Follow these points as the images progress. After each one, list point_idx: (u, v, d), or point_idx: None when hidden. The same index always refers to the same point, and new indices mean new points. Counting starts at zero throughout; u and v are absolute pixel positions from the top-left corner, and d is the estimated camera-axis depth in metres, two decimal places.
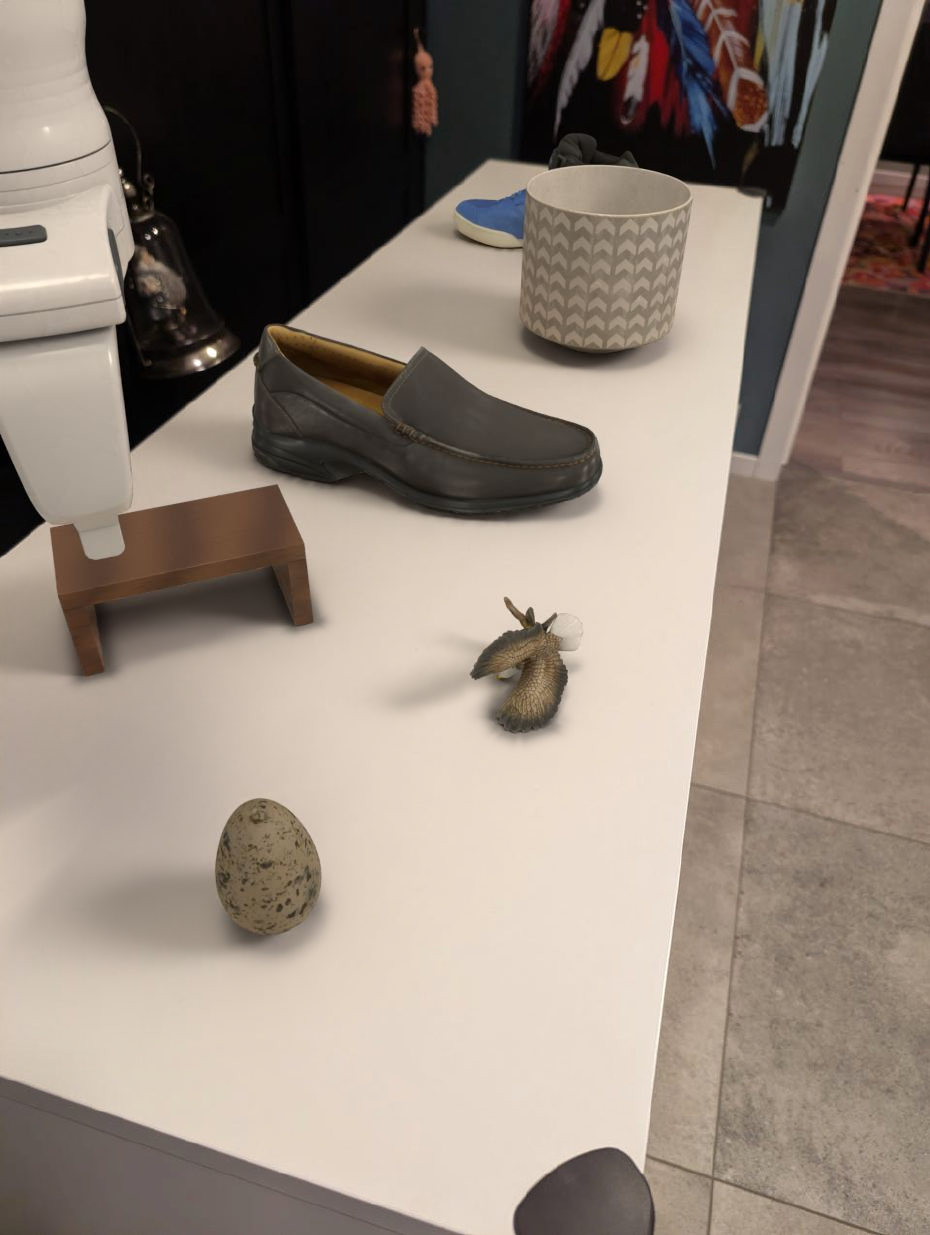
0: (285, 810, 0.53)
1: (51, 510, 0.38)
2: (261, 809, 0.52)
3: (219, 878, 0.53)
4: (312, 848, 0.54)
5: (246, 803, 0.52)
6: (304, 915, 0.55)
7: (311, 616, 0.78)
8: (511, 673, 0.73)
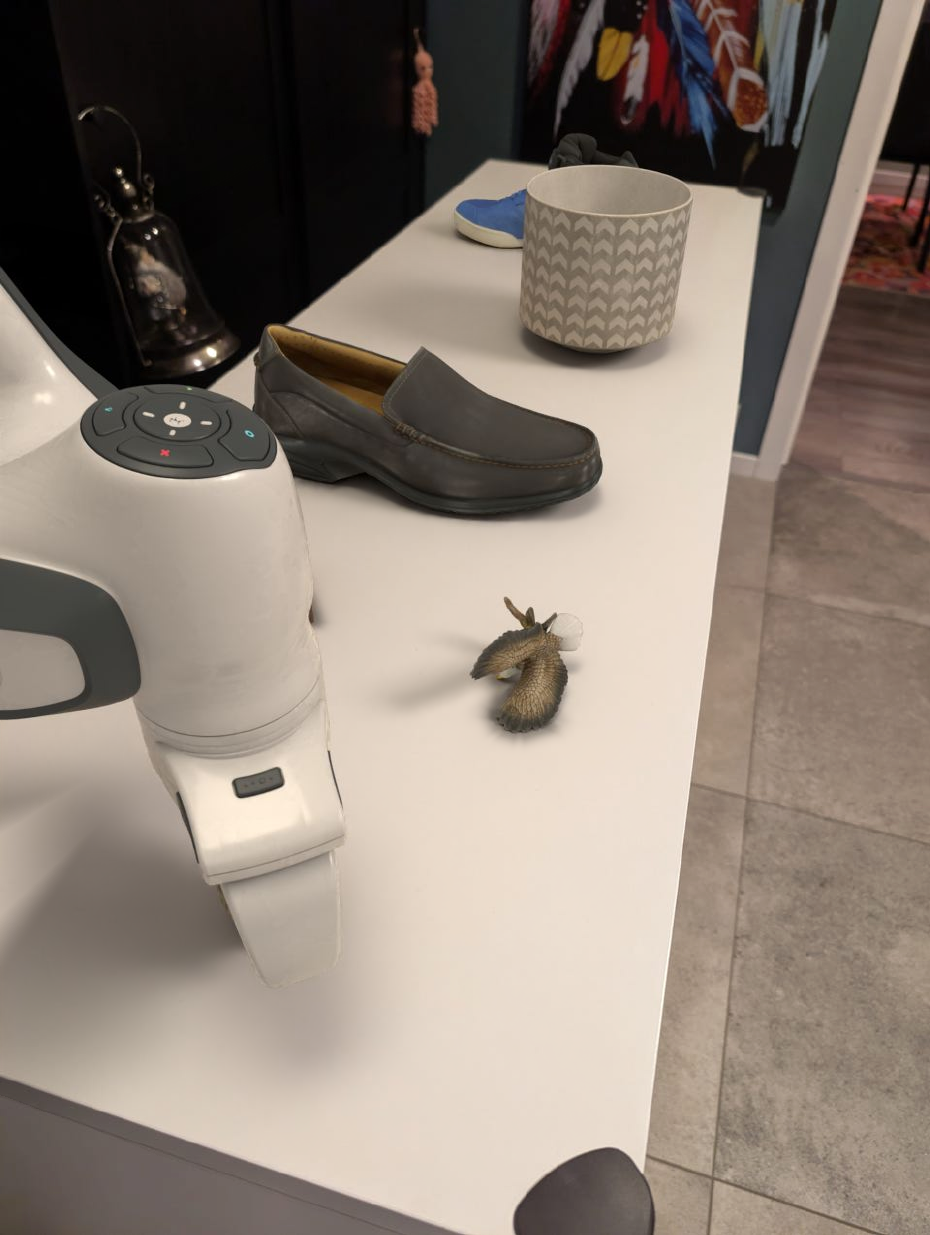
0: None
1: (275, 984, 0.44)
2: None
3: None
4: None
5: None
6: None
7: (311, 616, 0.78)
8: (511, 673, 0.73)
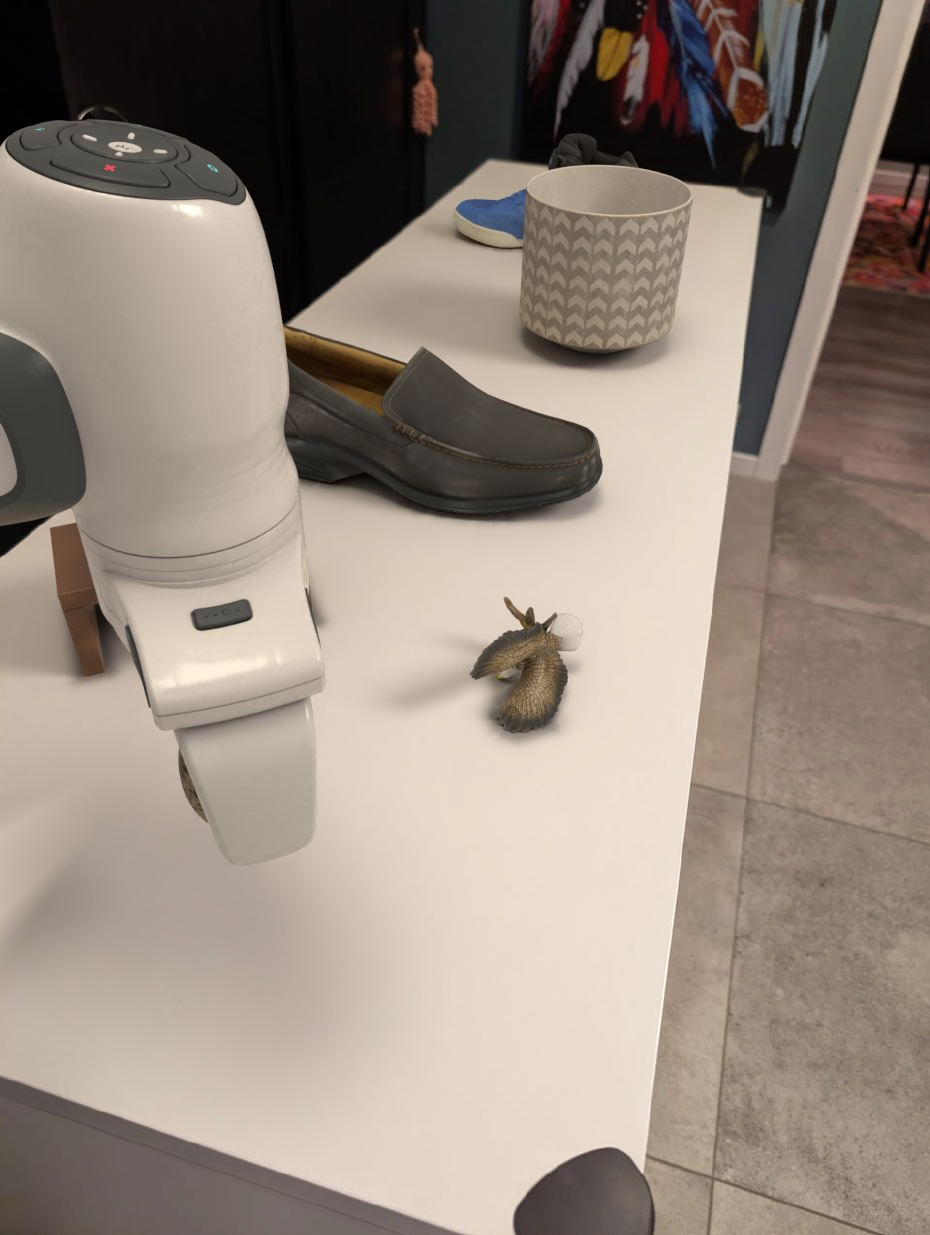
0: None
1: (240, 861, 0.38)
2: None
3: (182, 763, 0.47)
4: None
5: None
6: None
7: None
8: (511, 673, 0.73)
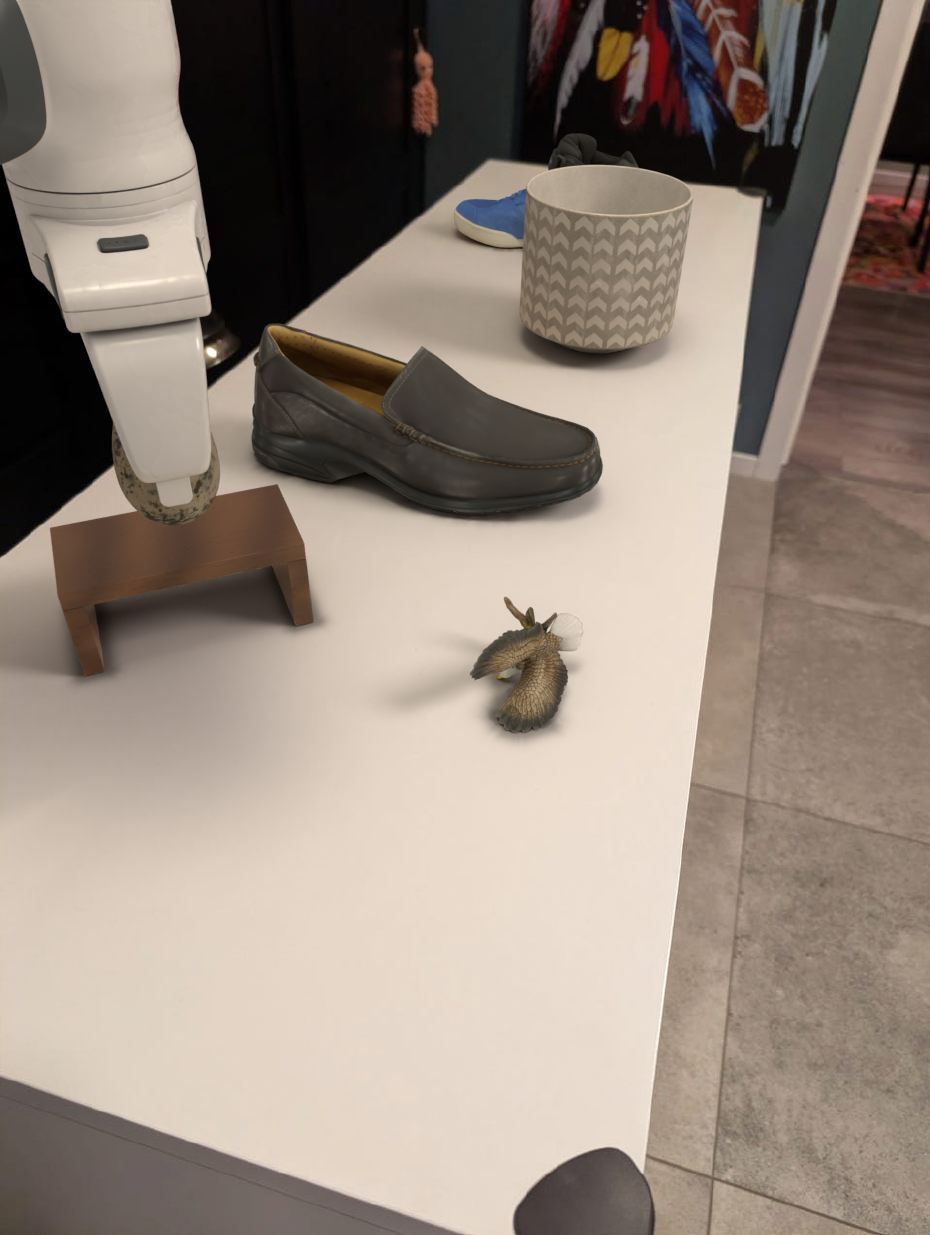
0: None
1: (145, 469, 0.46)
2: None
3: (114, 448, 0.54)
4: None
5: None
6: (200, 498, 0.56)
7: (311, 616, 0.78)
8: (511, 673, 0.73)
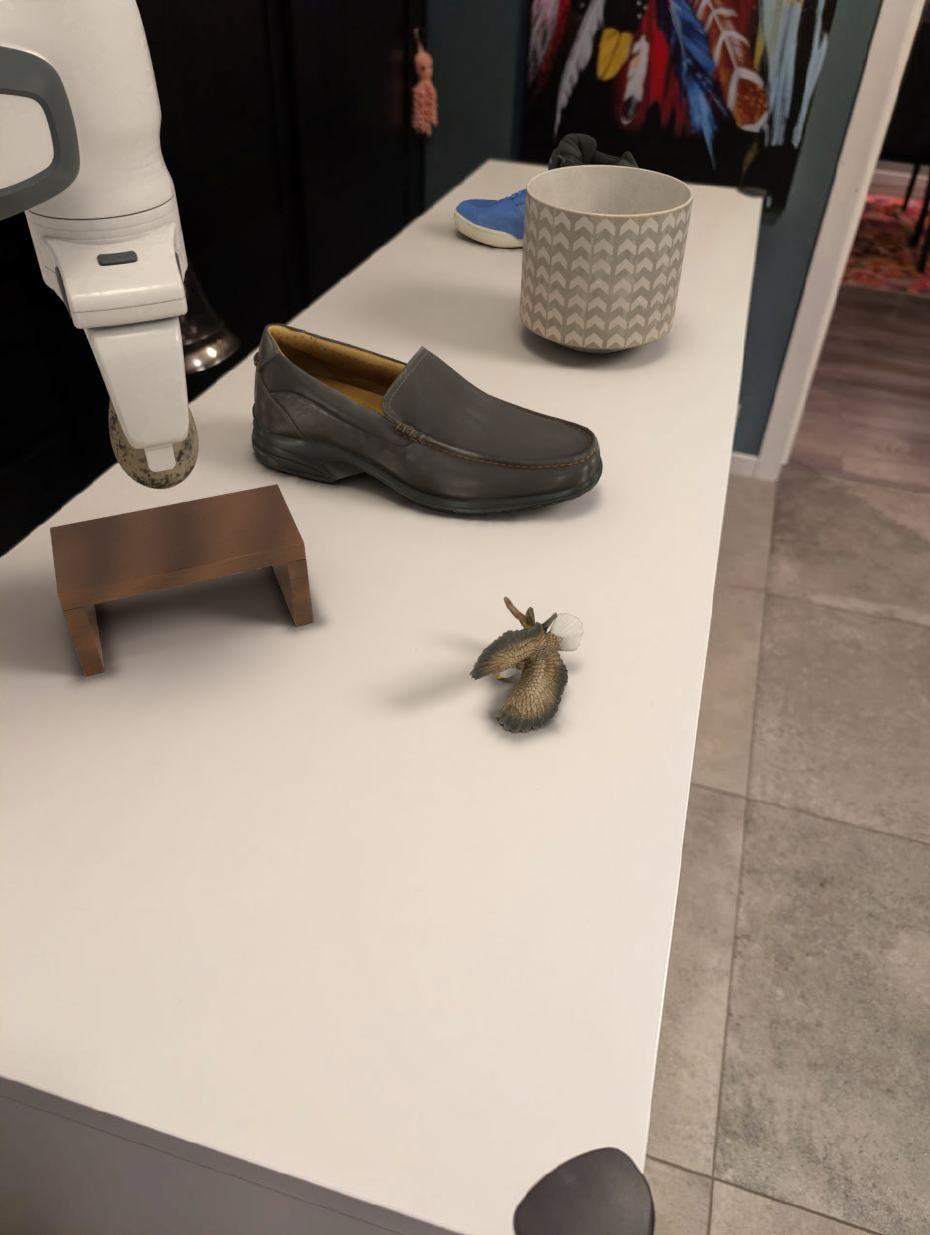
0: None
1: (136, 437, 0.57)
2: None
3: (110, 424, 0.66)
4: None
5: None
6: (182, 466, 0.68)
7: (311, 616, 0.78)
8: (511, 673, 0.73)
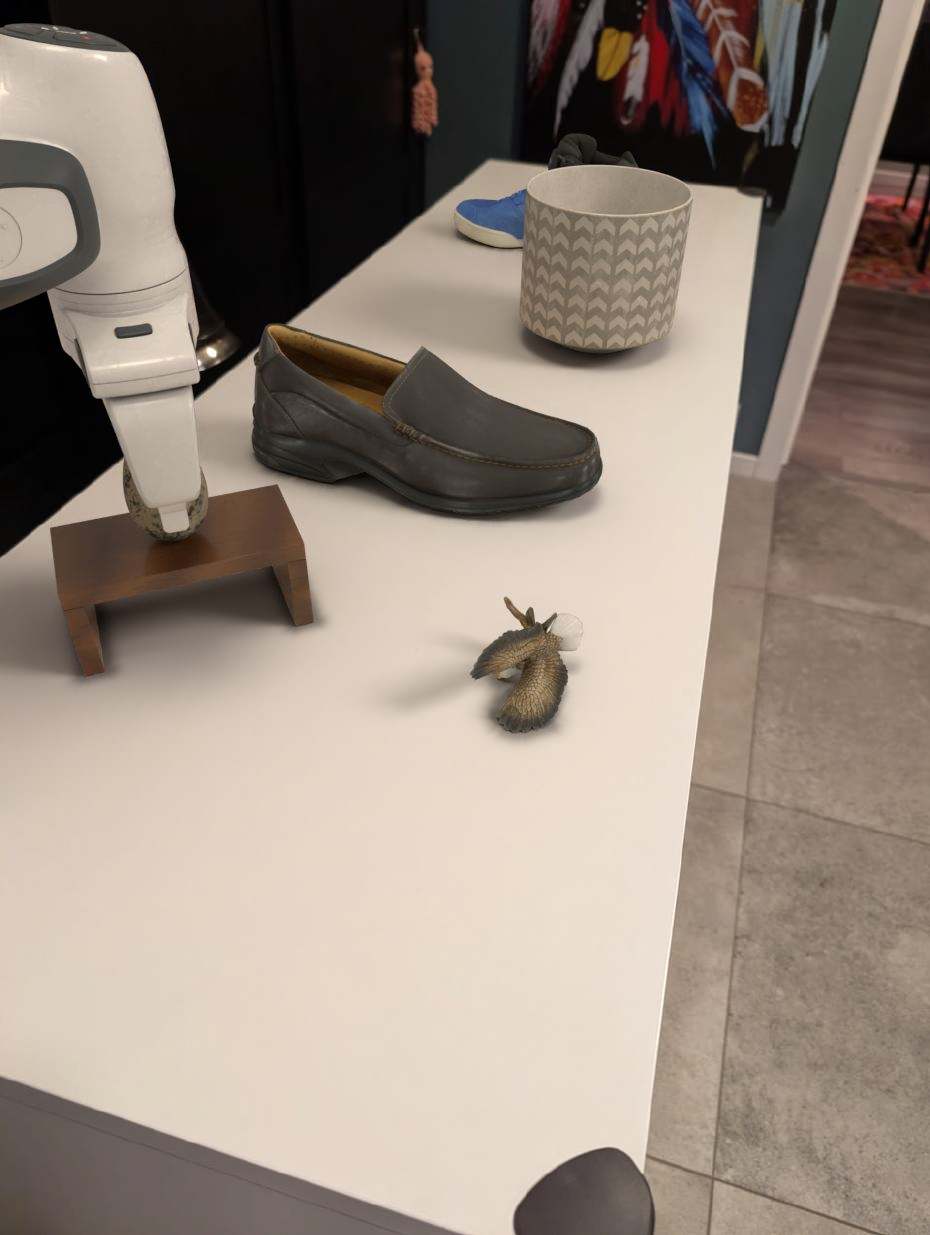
0: None
1: (151, 498, 0.60)
2: None
3: (124, 481, 0.69)
4: None
5: None
6: (192, 520, 0.71)
7: (311, 616, 0.78)
8: (511, 673, 0.73)
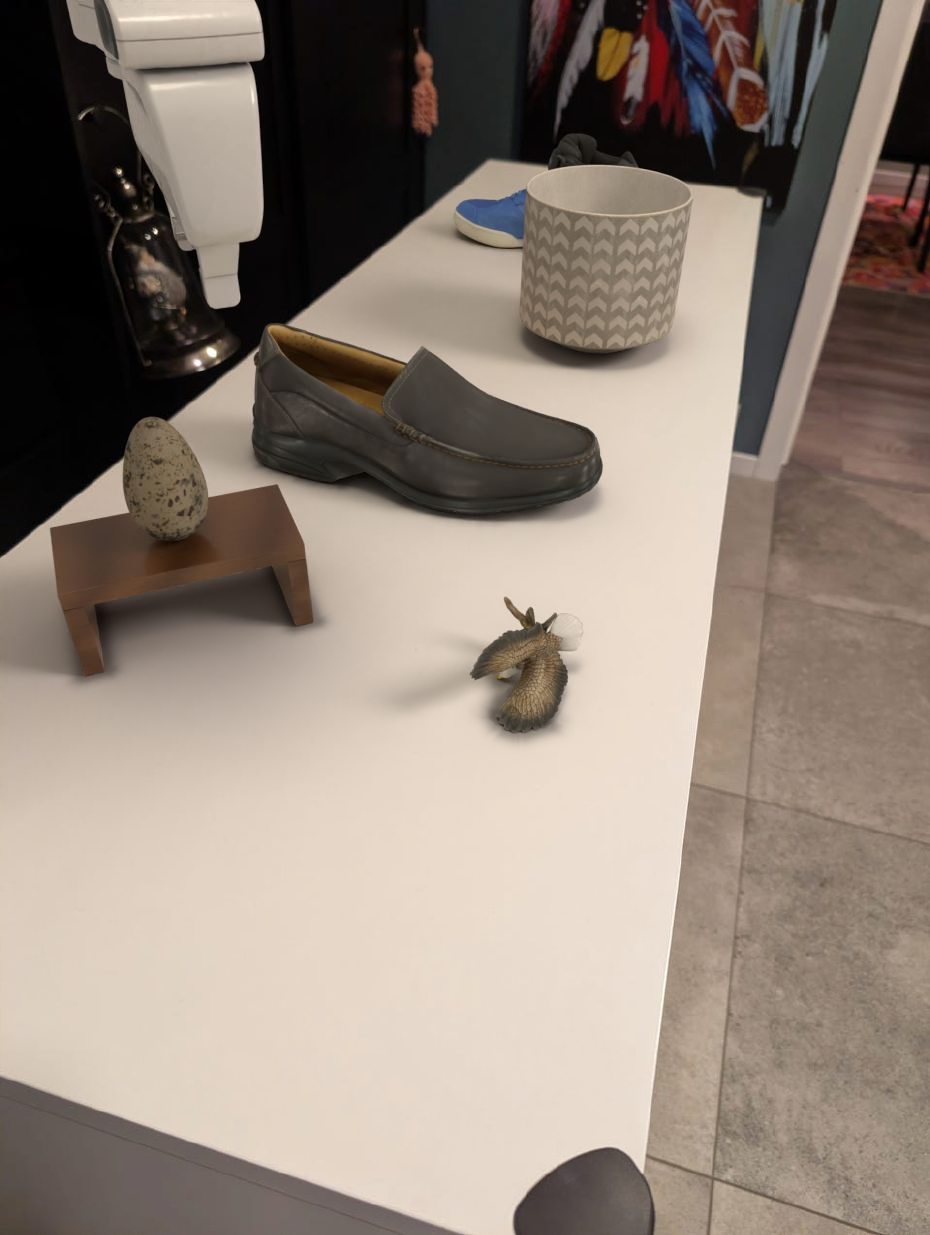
0: None
1: (198, 226, 0.45)
2: (154, 420, 0.68)
3: (124, 481, 0.69)
4: (198, 465, 0.70)
5: (144, 418, 0.68)
6: (192, 520, 0.71)
7: (311, 616, 0.78)
8: (511, 673, 0.73)
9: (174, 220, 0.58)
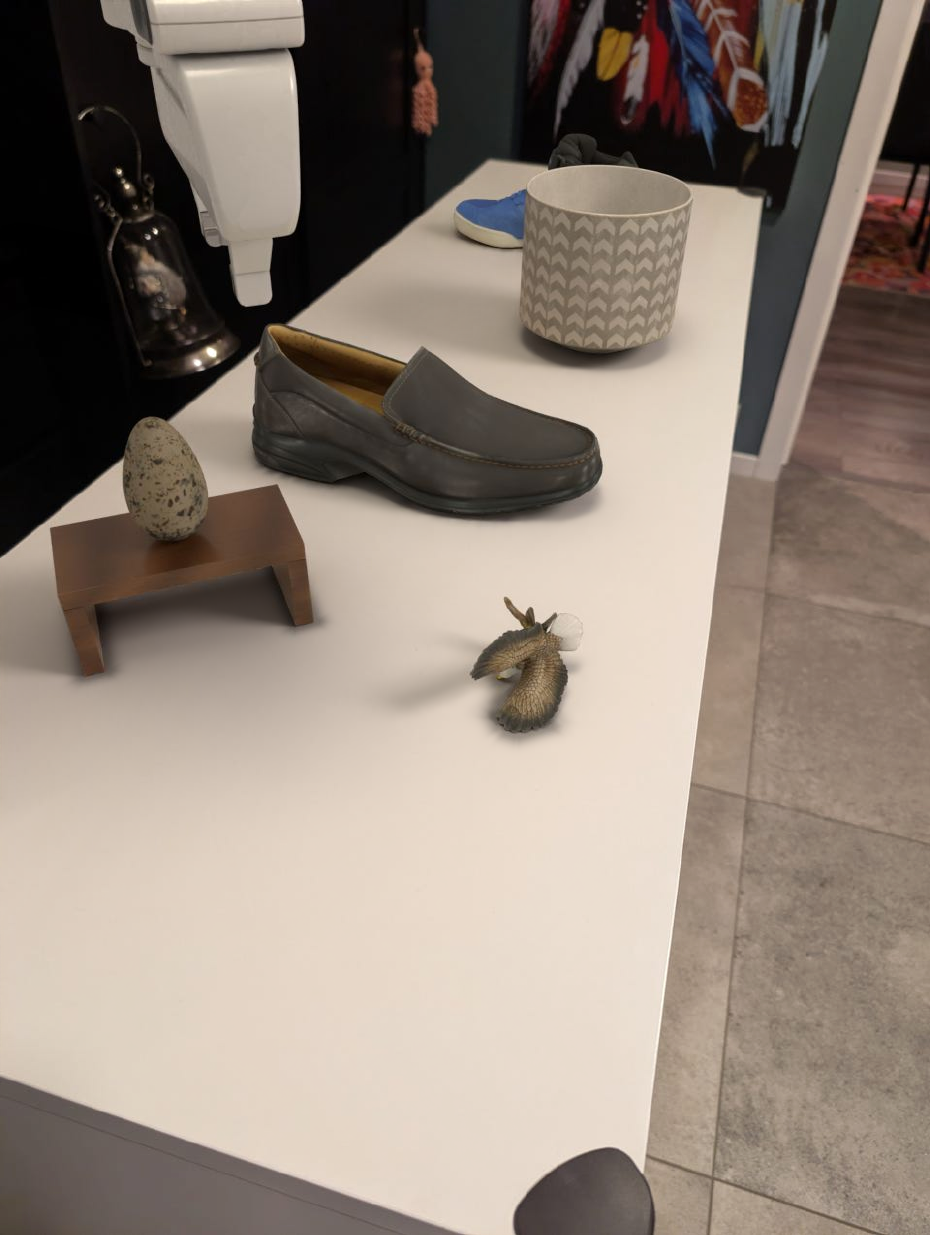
0: None
1: (232, 220, 0.43)
2: (154, 420, 0.68)
3: (124, 481, 0.69)
4: (198, 465, 0.70)
5: None
6: (192, 520, 0.71)
7: (311, 616, 0.78)
8: (511, 673, 0.73)
9: (202, 215, 0.56)
